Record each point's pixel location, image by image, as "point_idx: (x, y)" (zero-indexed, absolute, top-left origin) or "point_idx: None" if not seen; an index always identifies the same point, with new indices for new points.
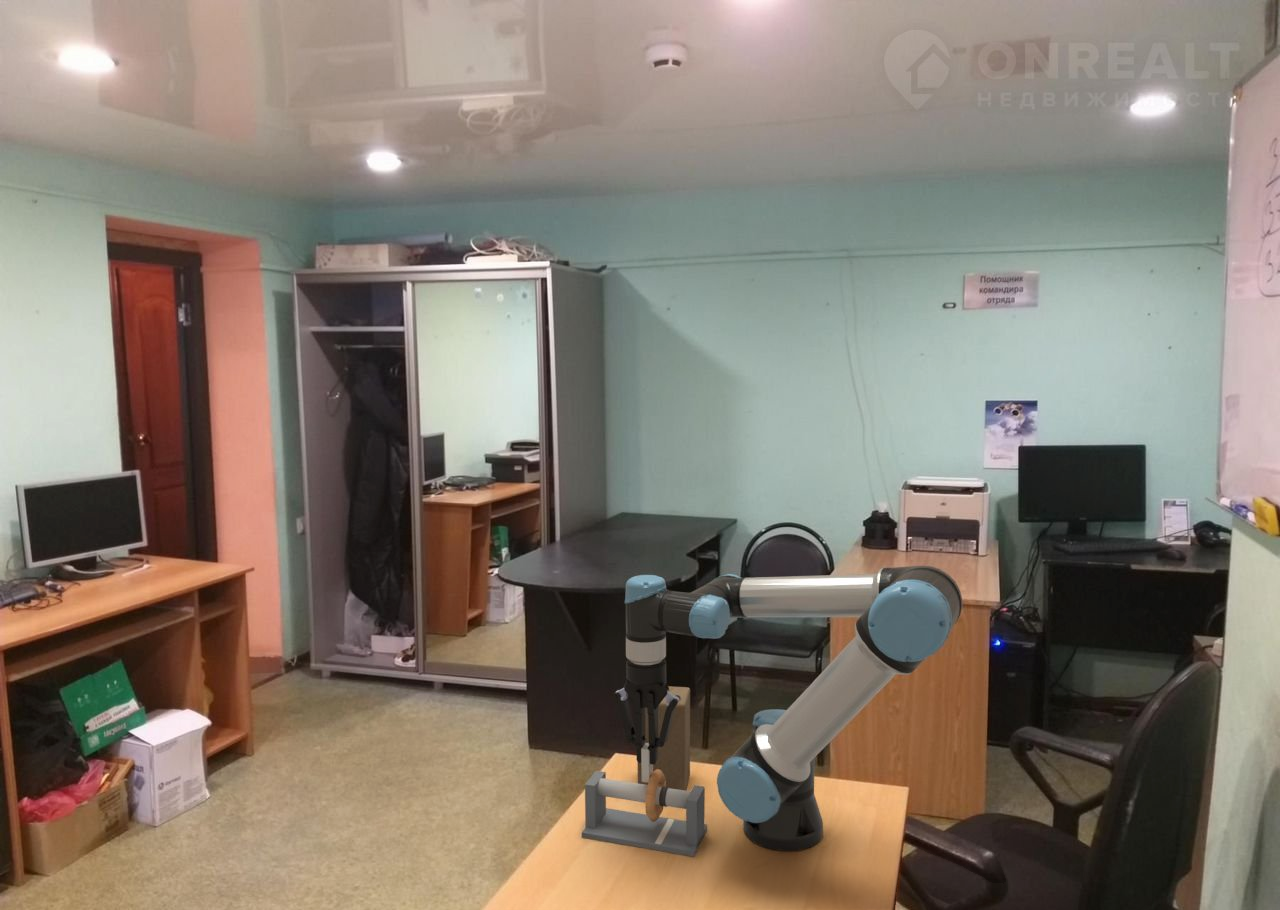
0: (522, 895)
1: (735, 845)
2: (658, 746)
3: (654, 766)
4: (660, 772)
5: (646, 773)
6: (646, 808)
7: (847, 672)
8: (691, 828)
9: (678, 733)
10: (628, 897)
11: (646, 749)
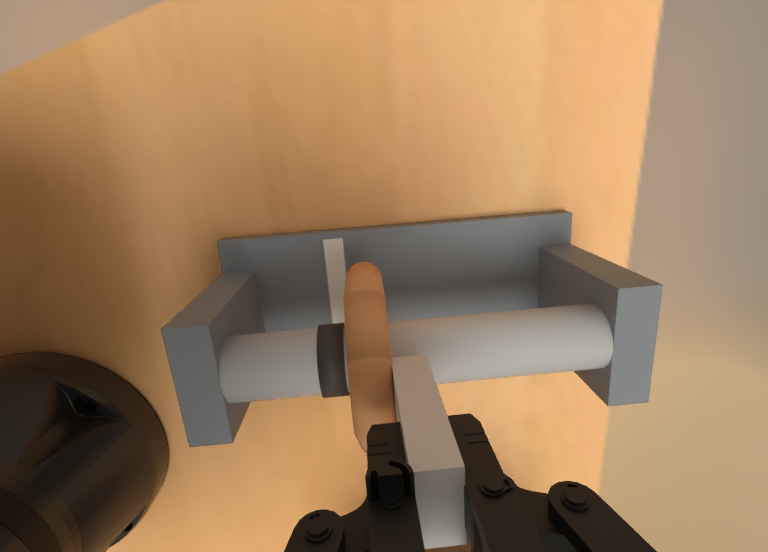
0: None
1: (141, 335)
2: (348, 517)
3: (464, 546)
4: (359, 428)
5: (407, 378)
6: (373, 268)
7: None
8: (222, 287)
9: None
10: None
11: (426, 470)
